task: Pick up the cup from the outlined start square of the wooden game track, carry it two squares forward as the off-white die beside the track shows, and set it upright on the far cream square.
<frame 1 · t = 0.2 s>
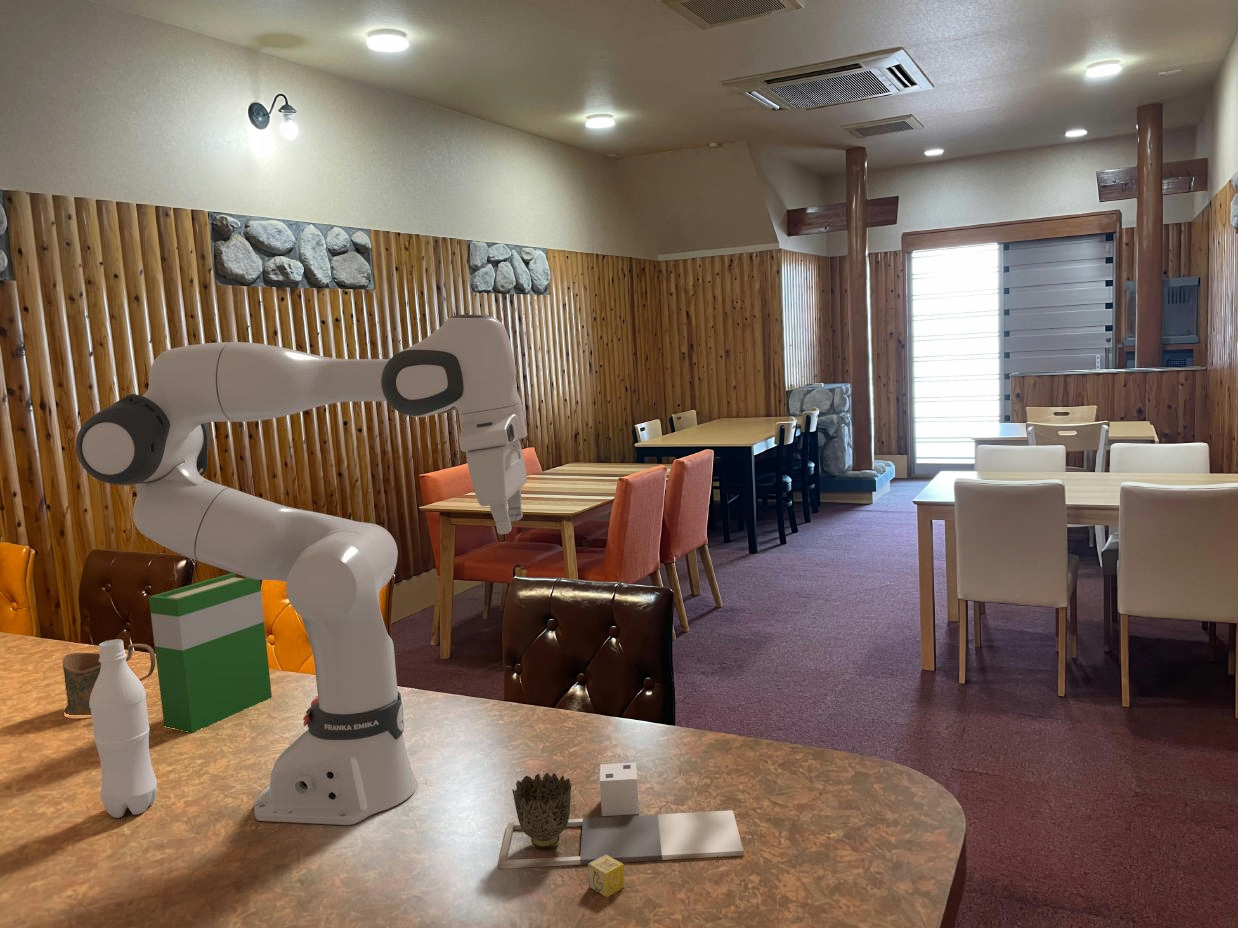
hand: (511, 526, 128), 38 cm above the table, tool pointing down, fingers open, 8 cm apart
hardback book: (220, 712, 169), on the table
game track: (620, 840, 117), on the table
alphabet block: (607, 888, 107), on the table
water bottle: (131, 810, 132), on the table
mug: (113, 707, 175), on the table
cup: (546, 846, 117), resting in game track
die: (620, 805, 125), on the table
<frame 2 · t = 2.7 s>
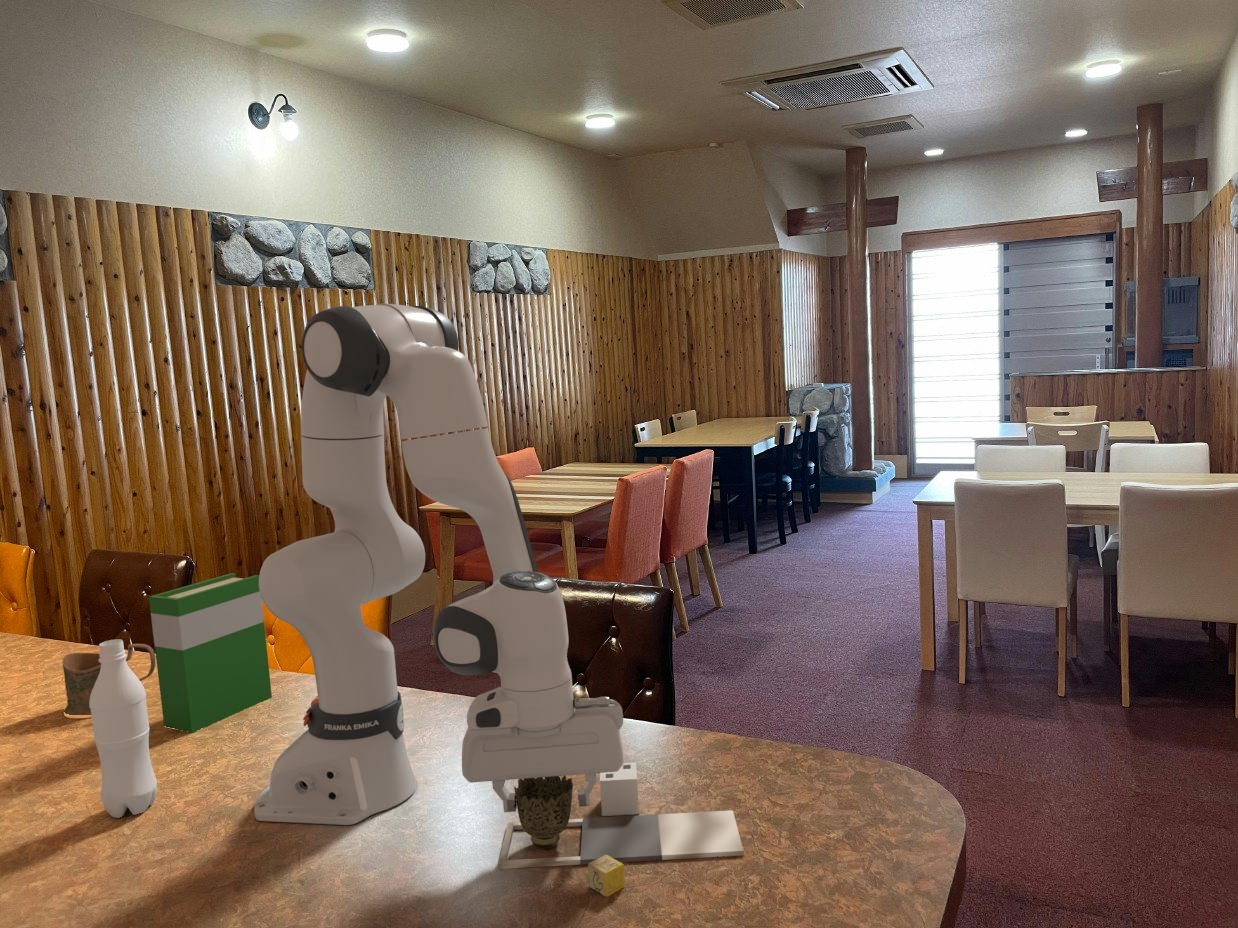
hand: (547, 807, 115), 5 cm above the table, tool pointing down, fingers open, 8 cm apart
nothing on the table moved.
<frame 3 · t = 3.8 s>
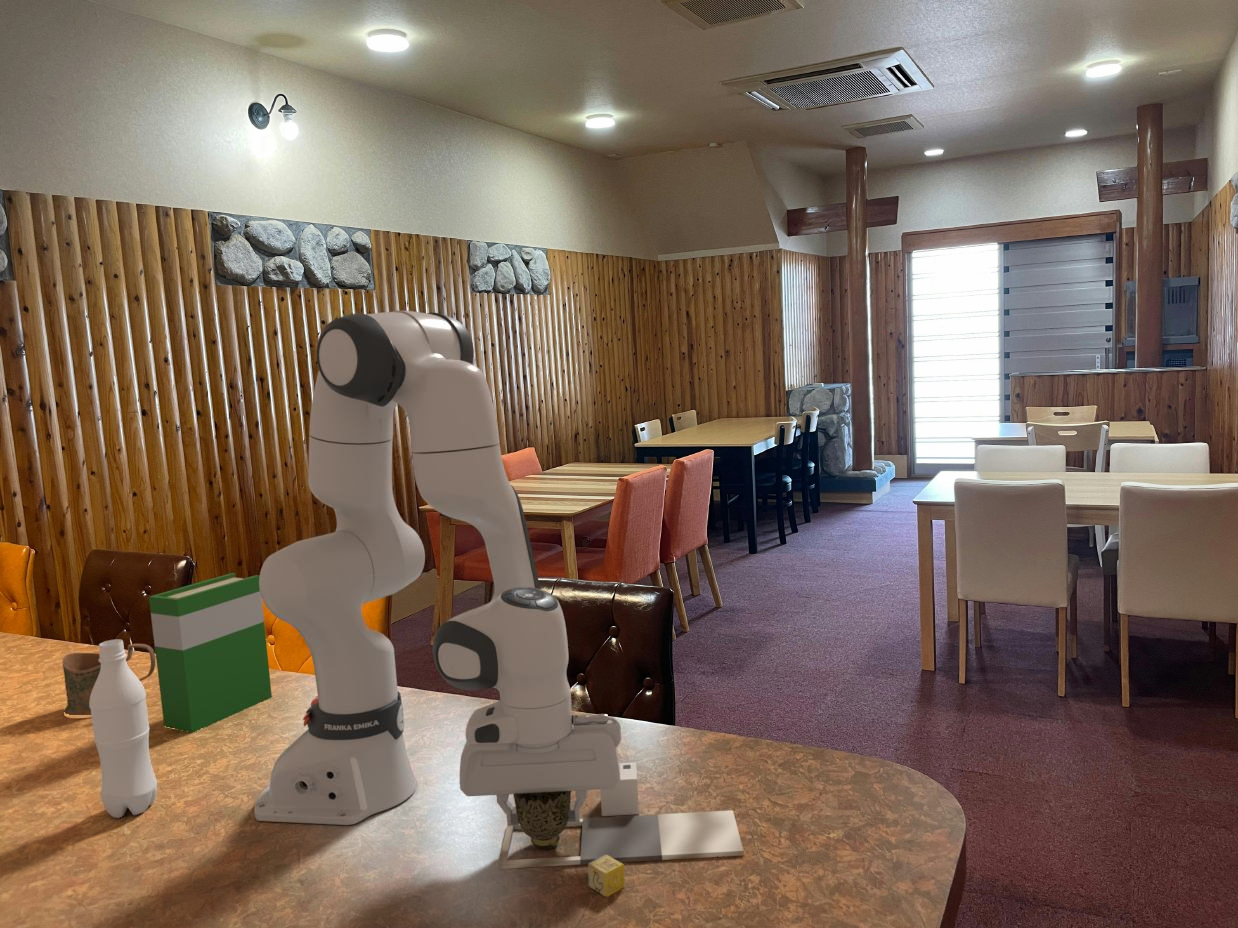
hand: (544, 821, 116), 3 cm above the table, tool pointing down, fingers closed on cup, 6 cm apart
cup: (545, 845, 117), resting in game track, touching gripper
everything else where it was.
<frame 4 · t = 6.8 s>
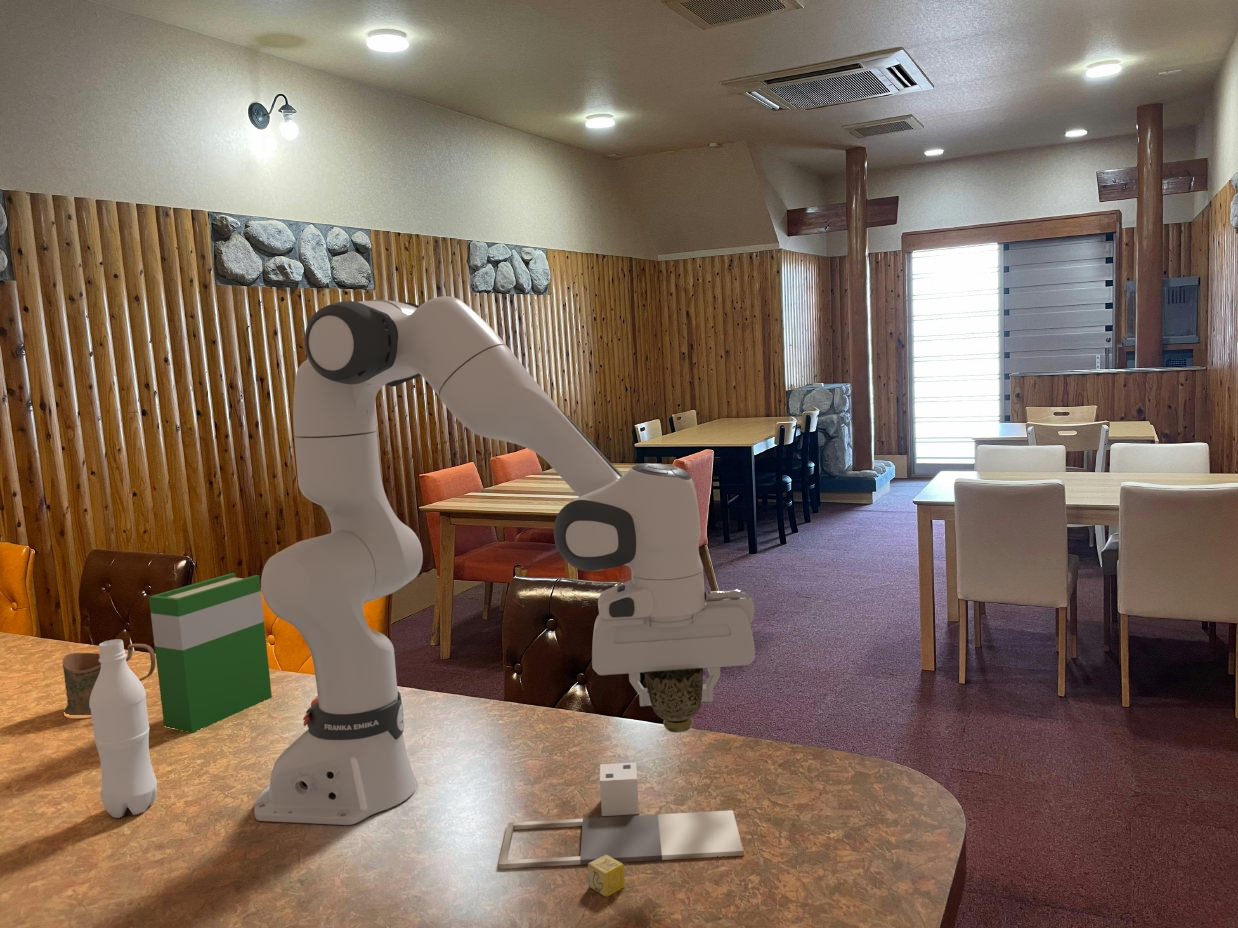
hand: (676, 702, 114), 18 cm above the table, tool pointing down, fingers closed on cup, 6 cm apart
cup: (678, 730, 114), point 14 cm above the table, touching gripper
everything else where it was.
when the fingers open (5 cm above the table, at t = 9.9 s): cup drops 1 cm, resting on game track.
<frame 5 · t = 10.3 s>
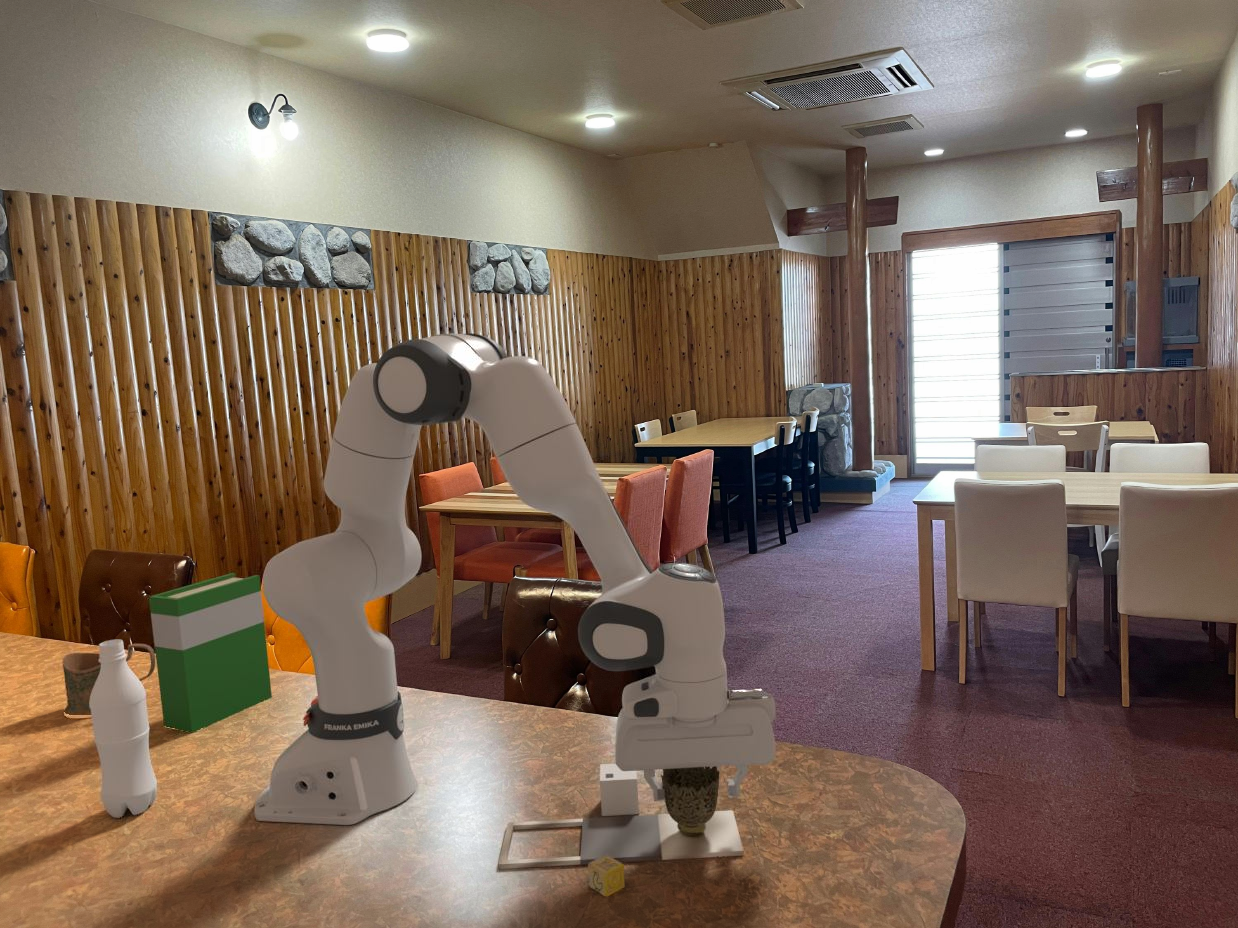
hand: (696, 797, 116), 5 cm above the table, tool pointing down, fingers open, 8 cm apart
cup: (691, 832, 117), resting on game track, touching gripper
everything else where it was.
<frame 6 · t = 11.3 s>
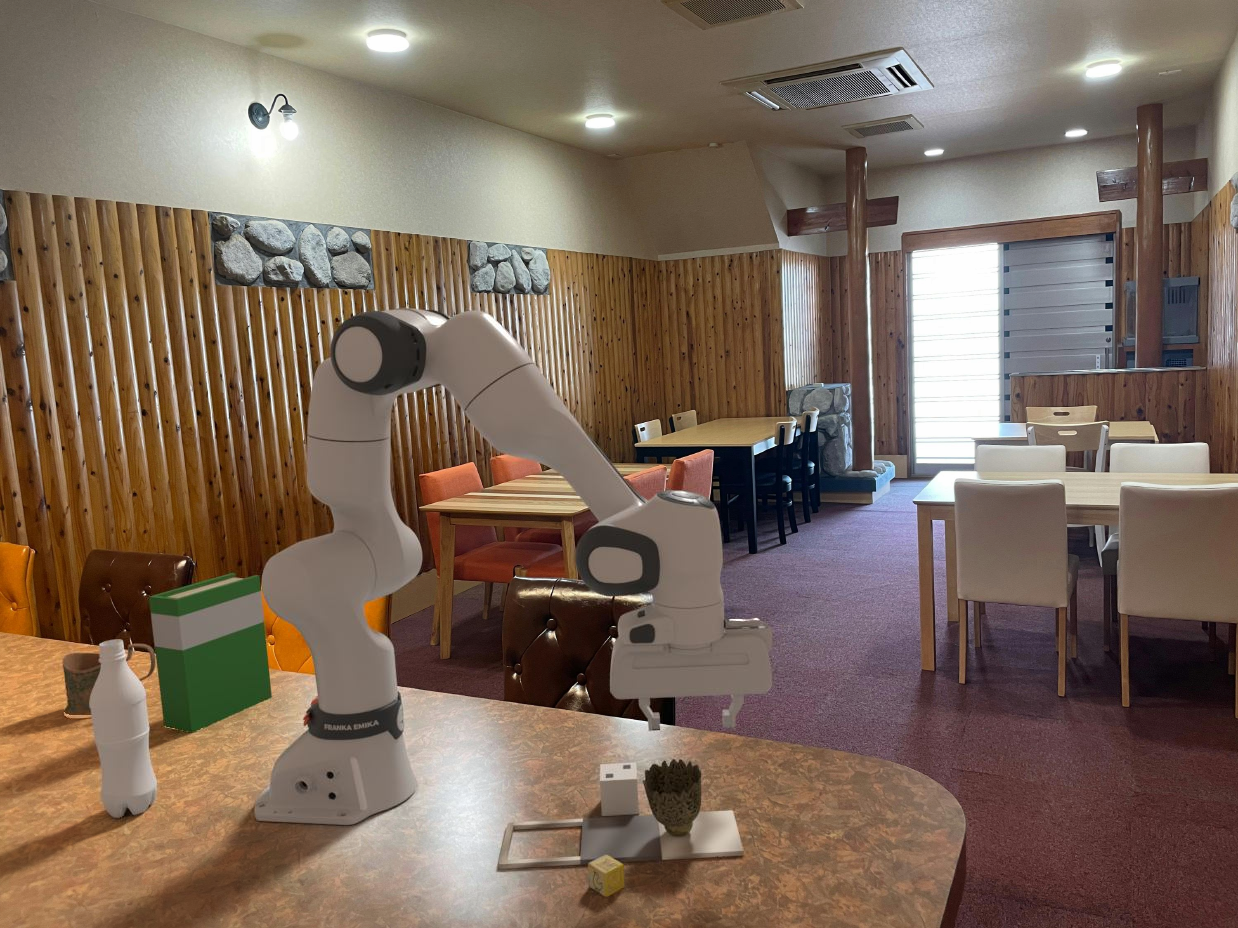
hand: (691, 727, 115), 14 cm above the table, tool pointing down, fingers open, 8 cm apart
cup: (679, 831, 117), point 1 cm above the table, touching game track
everything else where it was.
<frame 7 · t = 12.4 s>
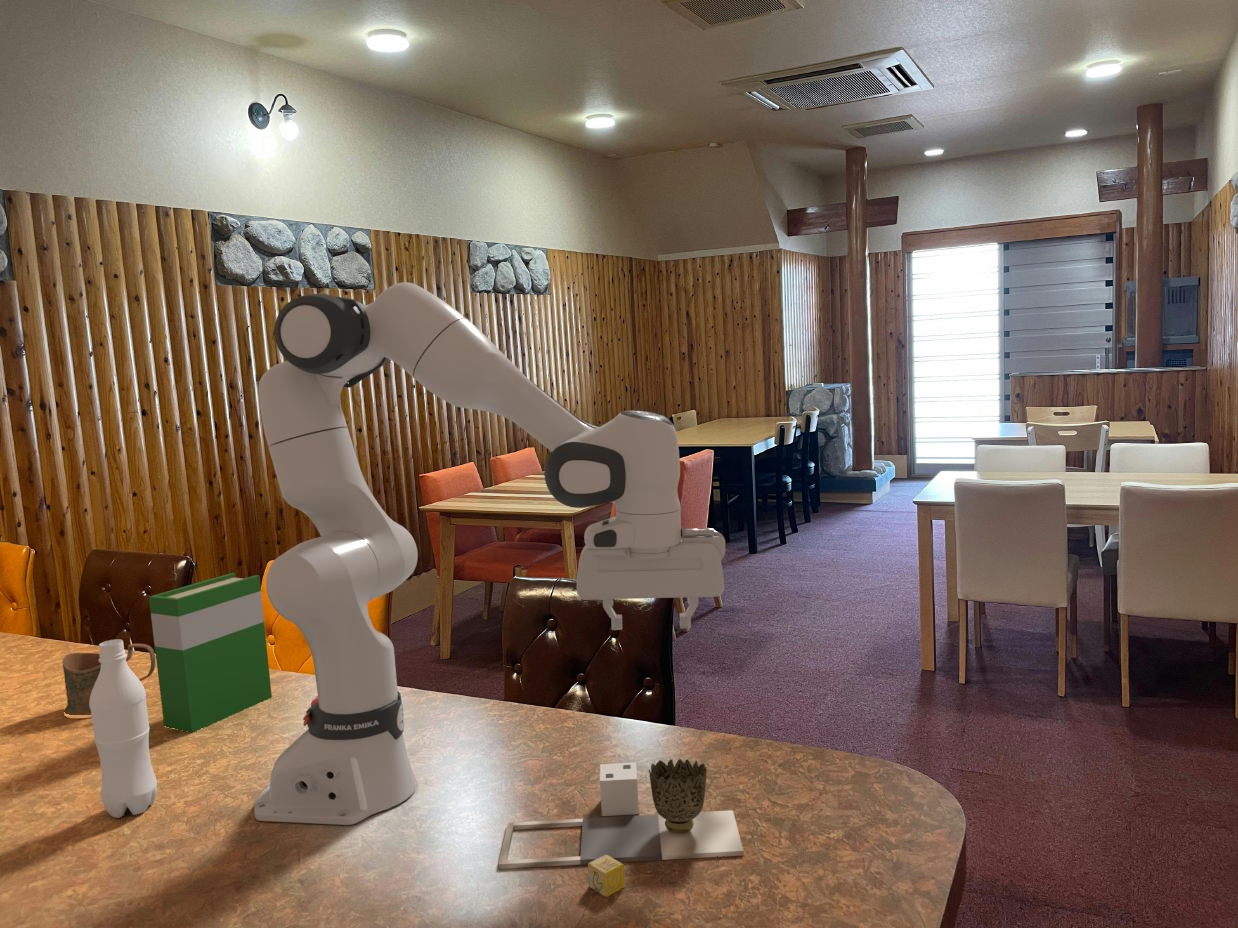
hand: (651, 628, 126), 24 cm above the table, tool pointing down, fingers open, 8 cm apart
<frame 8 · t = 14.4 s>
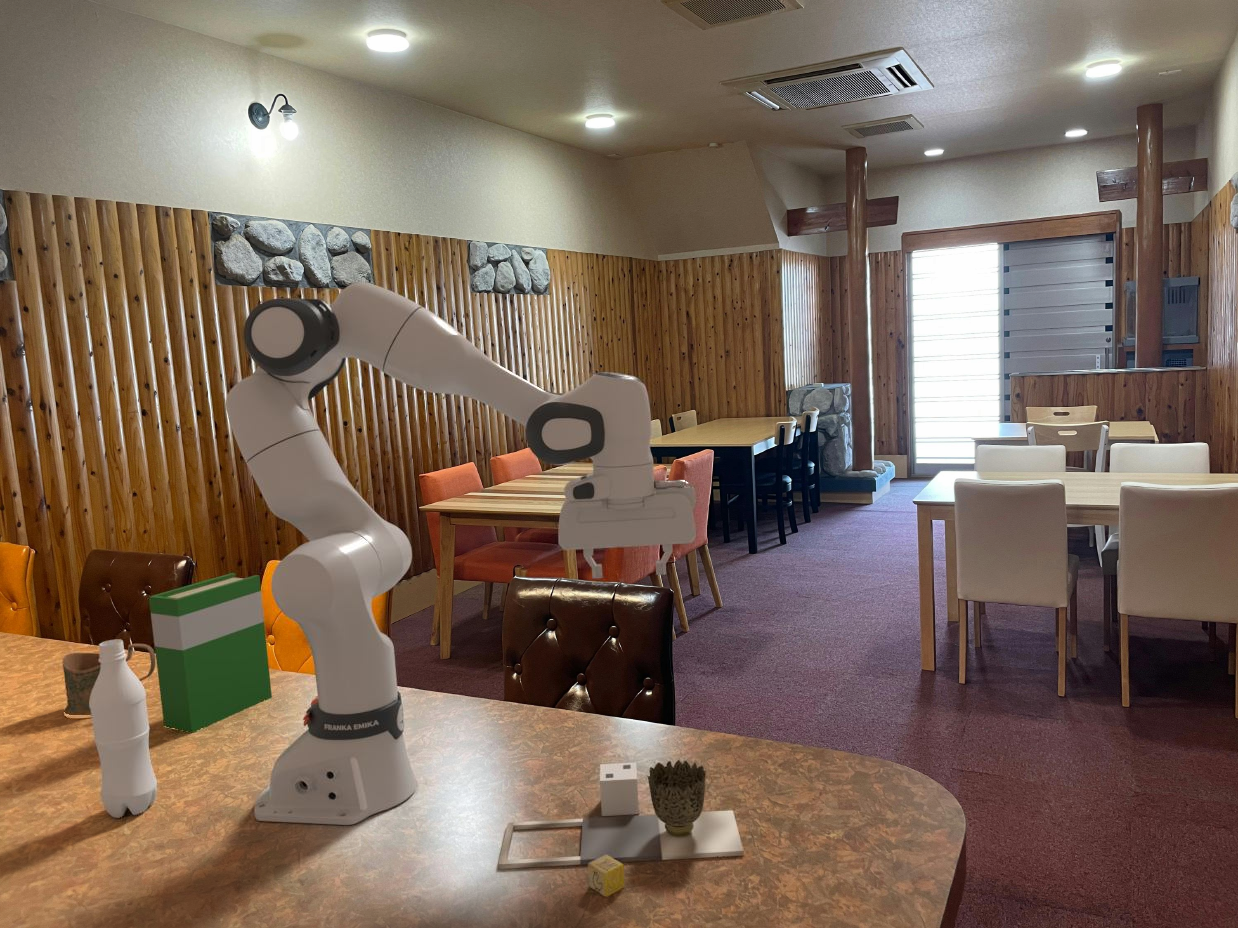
hand: (629, 575, 135), 29 cm above the table, tool pointing down, fingers open, 8 cm apart
at the end: cup 2.5 cm from the target spot on the game track, point 0.4 cm above the game track's base; cup tilted 0°; the gripper is holding nothing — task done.
